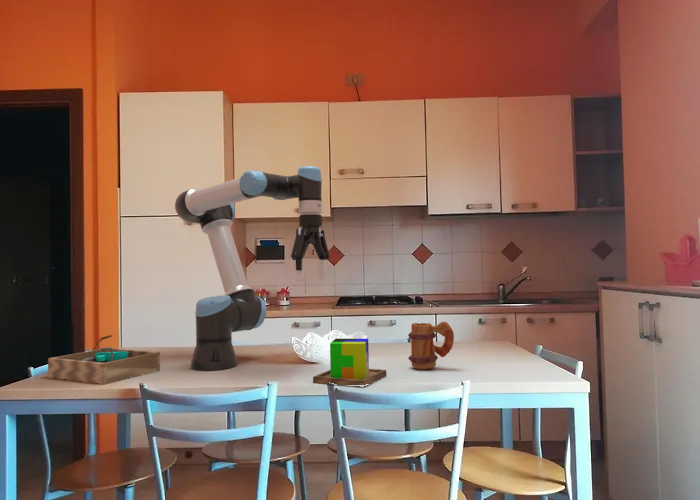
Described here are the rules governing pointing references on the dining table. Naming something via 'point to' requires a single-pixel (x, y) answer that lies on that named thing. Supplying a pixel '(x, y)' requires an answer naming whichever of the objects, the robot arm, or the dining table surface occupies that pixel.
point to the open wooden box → (103, 366)
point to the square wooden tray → (371, 377)
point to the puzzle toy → (349, 358)
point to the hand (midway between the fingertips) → (311, 280)
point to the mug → (429, 344)
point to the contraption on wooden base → (107, 354)
